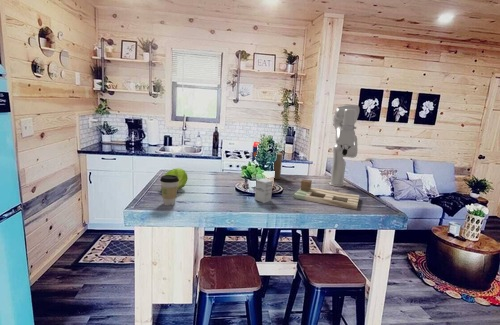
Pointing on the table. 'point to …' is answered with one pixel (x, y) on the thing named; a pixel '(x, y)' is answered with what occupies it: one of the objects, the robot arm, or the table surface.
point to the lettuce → (179, 176)
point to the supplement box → (263, 190)
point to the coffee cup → (169, 189)
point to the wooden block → (278, 166)
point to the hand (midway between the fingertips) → (344, 155)
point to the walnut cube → (306, 184)
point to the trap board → (328, 197)
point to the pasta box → (254, 150)
